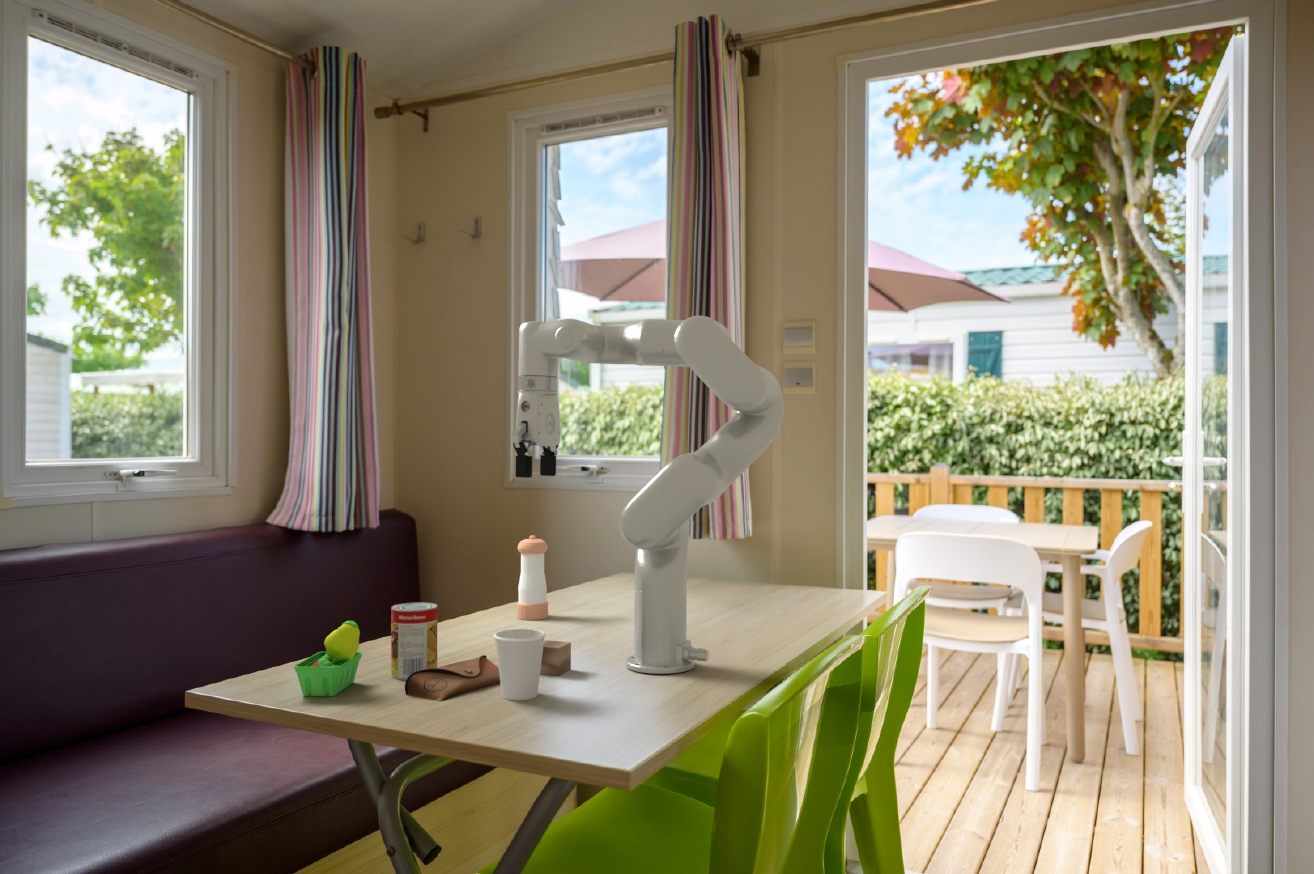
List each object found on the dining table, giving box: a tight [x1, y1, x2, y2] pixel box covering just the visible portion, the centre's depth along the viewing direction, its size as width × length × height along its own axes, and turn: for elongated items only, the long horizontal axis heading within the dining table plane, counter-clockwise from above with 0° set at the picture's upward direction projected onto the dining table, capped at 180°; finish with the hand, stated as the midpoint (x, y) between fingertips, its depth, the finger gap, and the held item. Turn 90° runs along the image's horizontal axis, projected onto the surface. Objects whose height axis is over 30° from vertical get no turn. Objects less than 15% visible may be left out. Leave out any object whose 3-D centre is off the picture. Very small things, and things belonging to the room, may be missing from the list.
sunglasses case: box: [404, 654, 500, 702], centre depth 155 cm, size 18×7×7 cm
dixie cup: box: [493, 628, 547, 701], centre depth 149 cm, size 8×8×10 cm
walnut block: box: [540, 639, 572, 677], centre depth 165 cm, size 5×5×5 cm
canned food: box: [390, 602, 438, 681], centre depth 163 cm, size 8×8×12 cm
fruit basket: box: [293, 620, 363, 697], centre depth 153 cm, size 11×9×11 cm
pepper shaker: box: [516, 535, 549, 621], centre depth 217 cm, size 7×7×19 cm
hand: (536, 476), depth 176 cm, fingers open, 9 cm apart
